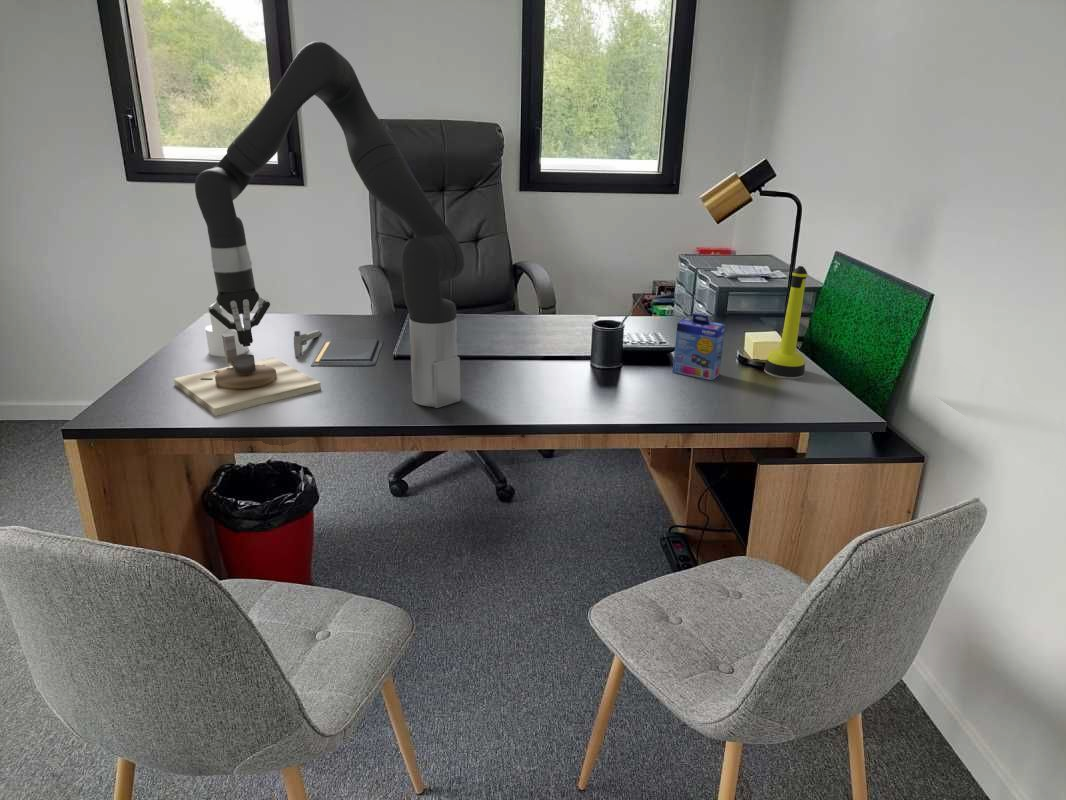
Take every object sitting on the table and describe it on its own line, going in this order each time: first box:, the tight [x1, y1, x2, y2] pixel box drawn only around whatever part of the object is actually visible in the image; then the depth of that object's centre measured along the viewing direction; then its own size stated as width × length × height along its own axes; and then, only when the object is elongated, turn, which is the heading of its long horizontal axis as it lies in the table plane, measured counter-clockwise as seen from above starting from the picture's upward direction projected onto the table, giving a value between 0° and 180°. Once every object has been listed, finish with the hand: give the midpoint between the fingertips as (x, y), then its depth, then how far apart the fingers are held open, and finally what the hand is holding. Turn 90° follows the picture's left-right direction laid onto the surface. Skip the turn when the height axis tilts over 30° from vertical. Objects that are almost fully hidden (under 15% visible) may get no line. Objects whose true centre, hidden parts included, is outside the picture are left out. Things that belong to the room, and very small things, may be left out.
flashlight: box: [763, 265, 808, 380], centre depth 164 cm, size 25×9×9 cm
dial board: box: [173, 357, 322, 417], centre depth 151 cm, size 22×22×2 cm
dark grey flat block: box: [310, 338, 384, 368], centre depth 174 cm, size 20×2×15 cm
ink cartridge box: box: [672, 313, 726, 381], centre depth 163 cm, size 10×6×14 cm, turn 59°
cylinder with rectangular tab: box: [204, 301, 249, 358], centre depth 172 cm, size 9×9×12 cm
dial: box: [215, 334, 277, 389], centre depth 151 cm, size 17×12×7 cm
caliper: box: [293, 329, 322, 358], centre depth 179 cm, size 21×1×6 cm, turn 1°
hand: (246, 345), depth 158 cm, fingers closed
